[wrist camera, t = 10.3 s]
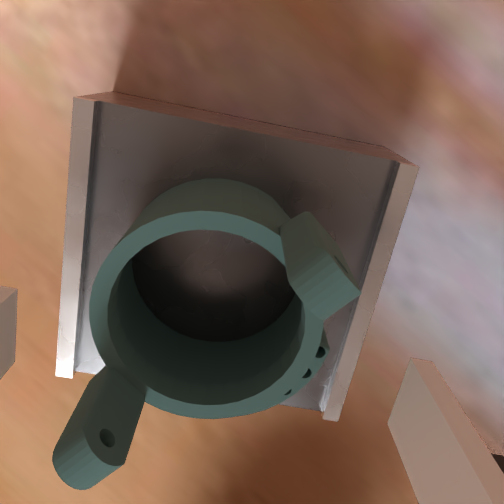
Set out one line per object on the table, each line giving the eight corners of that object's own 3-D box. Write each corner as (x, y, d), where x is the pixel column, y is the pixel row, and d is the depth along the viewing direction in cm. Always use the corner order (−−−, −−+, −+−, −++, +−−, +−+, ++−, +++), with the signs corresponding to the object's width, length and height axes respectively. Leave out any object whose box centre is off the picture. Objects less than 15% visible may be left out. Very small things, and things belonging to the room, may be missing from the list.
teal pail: (116, 340, 23) (43, 494, 15) (134, 150, 20) (52, 211, 12) (299, 367, 24) (327, 529, 15) (344, 187, 21) (410, 270, 12)
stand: (322, 359, 29) (337, 421, 24) (91, 319, 28) (55, 375, 23) (384, 146, 25) (419, 167, 20) (112, 91, 24) (73, 97, 19)
